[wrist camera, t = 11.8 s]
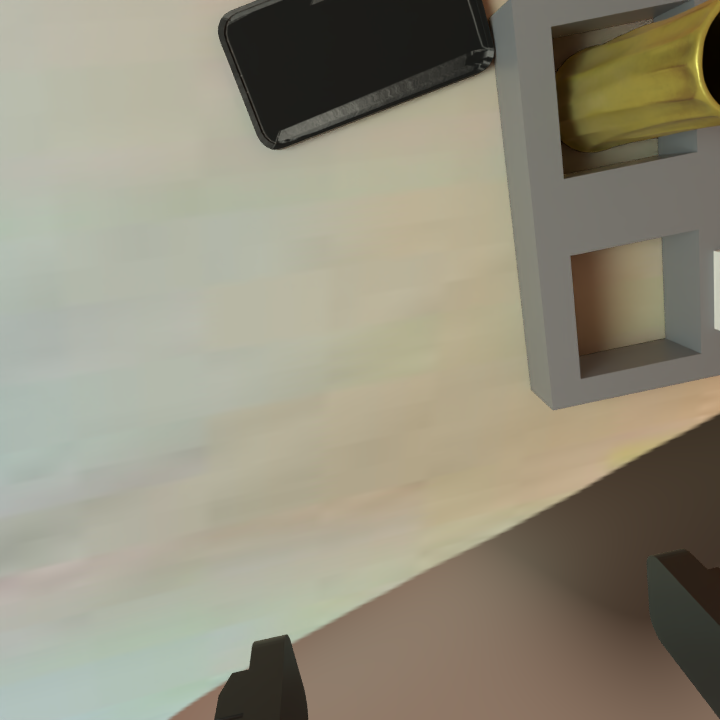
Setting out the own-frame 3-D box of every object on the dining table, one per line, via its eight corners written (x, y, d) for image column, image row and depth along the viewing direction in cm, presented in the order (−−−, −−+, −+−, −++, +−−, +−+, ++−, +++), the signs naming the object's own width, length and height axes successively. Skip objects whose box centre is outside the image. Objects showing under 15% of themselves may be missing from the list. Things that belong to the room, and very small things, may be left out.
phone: (498, 64, 35) (264, 155, 35) (493, 68, 36) (266, 156, 36) (460, -83, 33) (210, 16, 33) (455, -74, 34) (213, 21, 34)
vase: (660, 94, 37) (864, 39, 23) (592, 173, 38) (749, 165, 24) (594, 23, 35) (771, -78, 22) (525, 108, 37) (653, 61, 23)
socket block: (489, 18, 35) (514, -6, 31) (732, -30, 35) (792, -61, 31) (531, 389, 42) (556, 413, 38) (733, 347, 42) (782, 365, 38)
